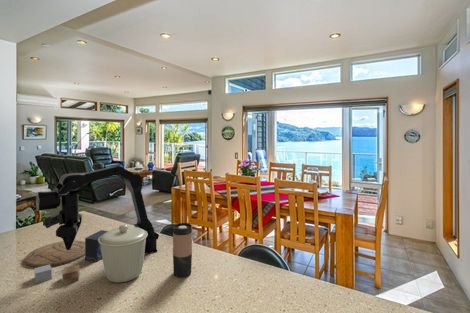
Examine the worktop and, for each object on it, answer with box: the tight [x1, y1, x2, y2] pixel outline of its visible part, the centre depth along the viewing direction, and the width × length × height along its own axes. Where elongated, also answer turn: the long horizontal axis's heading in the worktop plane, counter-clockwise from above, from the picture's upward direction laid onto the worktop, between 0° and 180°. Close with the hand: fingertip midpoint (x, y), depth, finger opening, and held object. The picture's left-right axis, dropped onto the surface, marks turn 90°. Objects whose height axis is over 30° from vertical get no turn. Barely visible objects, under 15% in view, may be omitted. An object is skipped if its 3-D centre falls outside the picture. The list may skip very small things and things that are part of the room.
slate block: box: [33, 265, 53, 284], centre depth 100 cm, size 5×5×4 cm
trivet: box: [24, 239, 85, 268], centre depth 121 cm, size 25×25×2 cm
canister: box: [98, 223, 148, 284], centre depth 103 cm, size 18×18×21 cm
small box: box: [84, 229, 109, 263], centre depth 119 cm, size 11×6×10 cm, turn 168°
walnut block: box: [62, 264, 81, 284], centre depth 100 cm, size 5×5×4 cm
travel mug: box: [172, 222, 193, 279], centre depth 105 cm, size 8×8×20 cm
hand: (70, 245), depth 101 cm, fingers open, 9 cm apart
